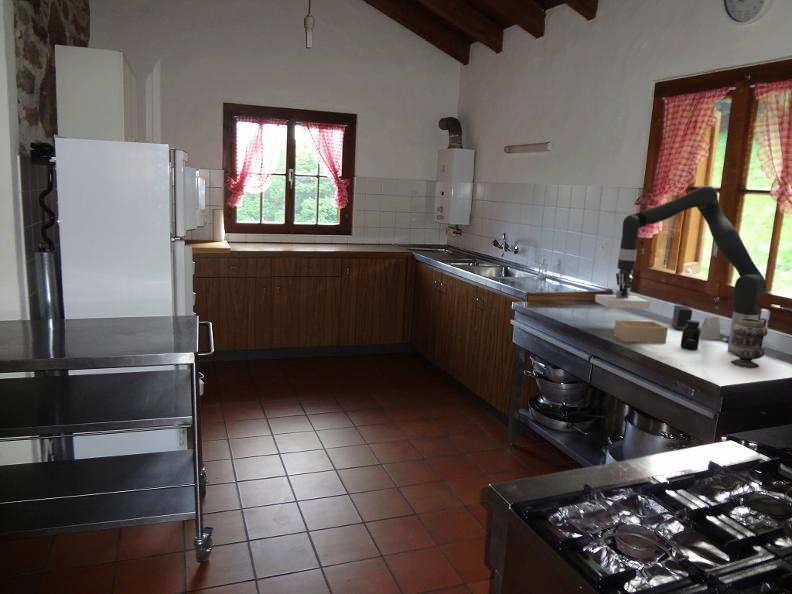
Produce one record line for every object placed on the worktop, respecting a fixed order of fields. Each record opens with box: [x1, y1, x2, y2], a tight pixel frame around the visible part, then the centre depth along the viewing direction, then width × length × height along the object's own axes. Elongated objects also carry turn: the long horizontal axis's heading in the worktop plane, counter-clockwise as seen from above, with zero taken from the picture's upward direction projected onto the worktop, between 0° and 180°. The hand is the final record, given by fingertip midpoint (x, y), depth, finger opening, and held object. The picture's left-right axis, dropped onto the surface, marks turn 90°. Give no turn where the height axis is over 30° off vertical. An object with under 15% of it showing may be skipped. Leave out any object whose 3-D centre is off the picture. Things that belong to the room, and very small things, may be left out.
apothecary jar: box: [729, 318, 768, 369], centre depth 243 cm, size 12×12×18 cm
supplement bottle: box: [680, 319, 701, 351], centre depth 265 cm, size 7×7×12 cm
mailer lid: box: [594, 290, 650, 309], centre depth 290 cm, size 14×20×6 cm
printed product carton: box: [700, 316, 721, 341], centre depth 285 cm, size 4×7×10 cm, turn 101°
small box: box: [670, 304, 693, 331], centre depth 304 cm, size 11×6×10 cm, turn 168°
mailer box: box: [613, 320, 668, 344], centre depth 277 cm, size 12×18×7 cm, turn 97°
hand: (622, 295), depth 290 cm, fingers closed on mailer lid
